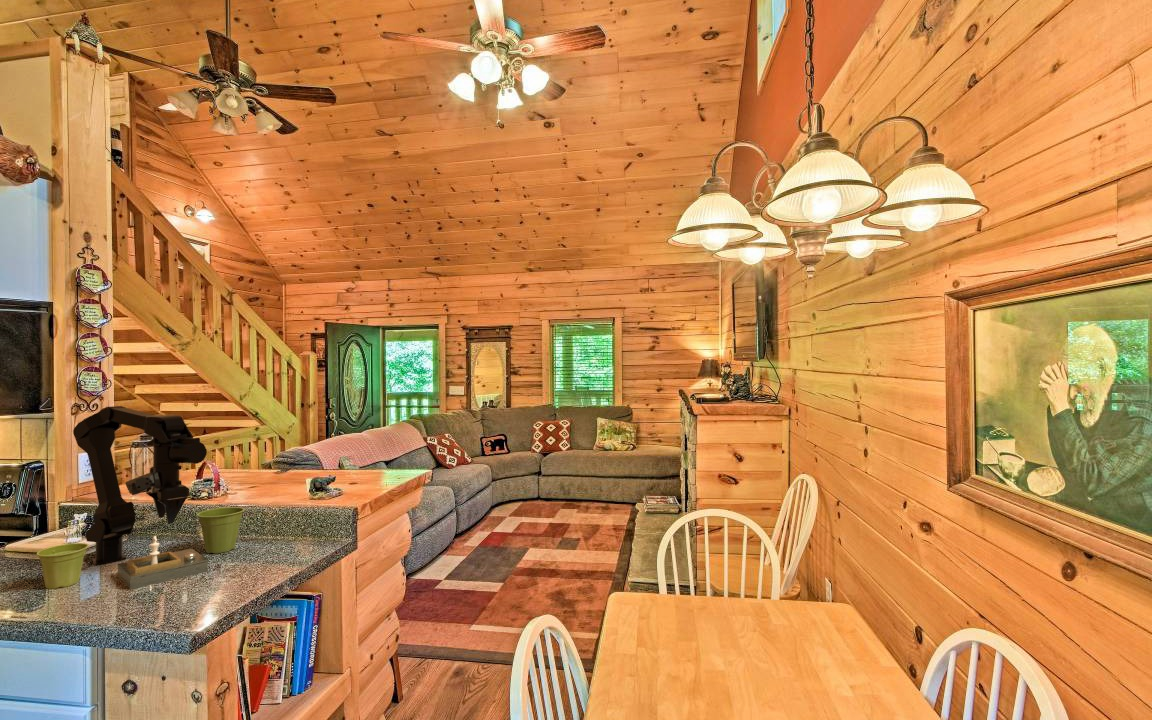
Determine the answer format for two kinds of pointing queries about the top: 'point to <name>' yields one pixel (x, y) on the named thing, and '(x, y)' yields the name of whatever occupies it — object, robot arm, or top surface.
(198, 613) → the top surface
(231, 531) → the plant pot
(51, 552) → the plant pot
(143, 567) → the grey hollow block
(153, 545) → the chess piece
